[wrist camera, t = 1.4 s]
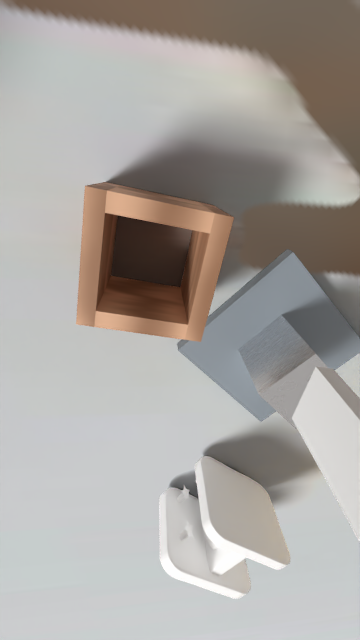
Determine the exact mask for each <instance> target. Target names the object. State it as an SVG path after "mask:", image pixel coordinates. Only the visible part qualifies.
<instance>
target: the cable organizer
mask: <svg viewBox="0 0 360 640" xmlns="http://www.w3.org/2000/svg"><path fill="white" fill-rule="evenodd" d="M195 474H196V481H195V482H196V483H197V489H198V497H199V498H196V497H194V496H192V495H190V494H189V490H188V489H186V488H185V486H184V490H180V489H178V488H168V489H167V490H166V491H165V492H164V493H163V494H161V496H160V498H159V525H160V561H161V564H162V566H163V568H164V570H165V571H166V572H167V573H168V574H169V575H170V576H171V577H173V578H175V579H178V580H181V581H184V582H187V583H190V584H193V585H196V586H199V587H202V588H205V589H208V590H211V591H213V592H216V593H219V594H222V595H225V596H228V597H231V598H234V599H239V598H241V597H242V596H244V595H245V594H247V593H248V592H249V591H250V588H251V582H250V578H249V573H248V569H247V565H246V560H245V558H249V559H252V560H254V561H256V562H259V563H261V564H264V565H266V566H269V567H271V568H273V569H276V570H280V569H282V568H283V567H285V566H286V565H288V564H289V563H290V554H289V551H288V548H287V545H286V542H285V539H284V537H283V534H282V531H281V528H280V525H279V522H278V519H277V517H276V514H275V511H274V508H273V505H272V502H271V499H270V497H269V495H268V493H267V492H266V490H265V489H264V488H263V487H262V486H261V485H260V484H259V483H257V482H256V481H254V480H253V479H251V478H249V477H247V476H245V475H243V474H241V473H239V472H237V471H235V470H233V469H231V468H229V467H228V466H226V465H224V464H223V463H221V462H219V461H217V460H215V459H214V458H212V457H209V456H203V457H202V458H200V459H199V460H198V461H197V462H196V463H195Z"/></svg>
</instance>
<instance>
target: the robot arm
mask: <svg viewBox="0 0 360 640" xmlns="http://www.w3.org/2000/svg"><path fill="white" fill-rule="evenodd" d="M292 420H293V421H294V423H295V425H296V427H297V429H298V431H299V432H300V434H301V436H302V438H303V440H304V442H305V443H306V445H307V447H308V449H309V451H310V452H311V454H312V456H313V458H314V460H315V462H316V463H317V465H318V467H319V469H320V471H321V473H322V474H323V476H324V478H325V480H326V482H327V483H328V485H329V487H330V489H331V491H332V493H333V494H334V496H335V498H336V500H337V502H338V504H339V505H340V507H341V509H342V511H343V513H344V514H345V516H346V518H347V520H348V522H349V524H350V525H351V527H352V529H353V531H354V533H355V535H356V536H357V538H358V540H359V542H360V398H359V397H358V396H357V395H356V394H355V393H354V392H353V391H352V390H351V388H350V387H349V386H348V385H347V384H346V383H345V382H344V381H343V379H342V378H341V377H340V376H339V375H338V374H337V373H336V372H335V371H334V369H330V368H323V367H315V369H314V372H313V374H312V376H311V378H310V380H309V382H308V384H307V387H306V389H305V391H304V393H303V395H302V397H301V399H300V401H299V404H298V406H297V408H296V410H295V412H294V414H293V416H292Z"/></svg>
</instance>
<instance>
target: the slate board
mask: <svg viewBox="0 0 360 640" xmlns="http://www.w3.org/2000/svg"><path fill="white" fill-rule="evenodd" d="M280 315H282V316H283V317H284V318H285V319H286V320H287V322H288V323H289V324H290V325H291V326H292V327H293V328H294V329H295V331H296V332H297V333H298V334H299V335H300V336H301V337H302V339H303V340H304V341H305V342H306V343H307V344H308V345H309V346H310V348H311V349H312V350H313V351H314V352H315V353H316V354H317V355H318V357H319V358H320V359H321V360H322V361H323V362H324V363H325V365H326V366H327V367H328V368H330V369H334V370H336V369H337V368H338V367H340V366H341V365H343V364H344V363H346V362H347V361H348V360H350V359H351V358H353V357H354V356H356V355H357V354H358V353H360V338H359V336H358V335H357V334H356V332H355V331H354V330H353V329H352V327H351V326H350V325H349V323H348V322H347V321H346V320H345V318H344V317H343V316H342V314H341V313H340V312H339V310H338V309H337V308H336V307H335V305H334V304H333V303H332V301H331V300H330V299H329V298H328V296H327V295H326V294H325V292H324V291H323V290H322V289H321V287H320V286H319V285H318V283H317V282H316V281H315V279H314V278H313V277H312V276H311V274H310V273H309V272H308V270H307V269H306V268H305V267H304V265H303V264H302V263H301V261H300V260H299V259H298V258H297V256H296V255H295V254H294V252H292V251H291V250H289V249H287V250H285V251H284V252H283V253H282V254H281V255H280V256H278V257H277V258H276V259H275V260H274V261H273V262H271V263H270V264H269V265H268V266H267V267H266V268H264V269H263V270H262V271H261V272H260V273H259V274H257V275H256V276H255V277H254V278H253V279H252V280H251V281H249V282H248V283H247V284H246V285H245V286H244V287H242V288H241V289H240V290H239V291H238V292H237V293H235V294H234V295H233V296H232V297H231V298H230V299H228V300H227V301H226V302H225V303H224V304H223V305H221V306H220V307H219V308H218V309H217V310H216V311H215V312H213V313H212V314H211V315H210V316H209V317H208V318H207V321H206V325H205V329H204V332H203V336H202V340H201V342H198V341H191V340H183V339H182V340H181V341H180V342H179V343H177V345H178V351H180V352H181V353H182V354H183V355H184V356H185V357H186V358H188V359H189V360H190V361H191V362H192V363H193V364H195V365H196V366H197V367H198V368H199V369H200V370H202V371H203V372H204V373H205V374H206V375H207V376H209V377H210V378H211V379H212V380H213V381H214V382H215V383H217V384H218V385H219V386H220V387H221V388H222V389H224V390H225V391H226V392H227V393H228V394H229V395H231V396H232V397H233V398H234V399H235V400H236V401H237V402H239V403H240V404H241V405H242V406H243V407H244V408H246V409H247V410H248V411H249V412H250V413H251V414H253V415H254V416H255V417H256V418H257V419H258V420H260V421H263V420H264V419H266V418H267V417H269V416H270V415H271V414H273V413H274V412H276V410H275V409H274V408H273V407H272V406H271V405H269V404H268V403H267V402H266V401H265V400H264V399H263V398H262V397H261V396H260V395H259V394H258V392H257V389H256V387H255V385H254V383H253V381H252V379H251V376H250V374H249V372H248V370H247V368H246V366H245V364H244V361H243V359H242V357H241V355H240V353H239V351H238V349H239V348H240V347H242V346H243V345H244V344H245V343H247V342H248V341H249V340H250V339H252V338H253V337H254V336H255V335H257V334H258V333H259V332H260V331H262V330H263V329H264V328H265V327H267V326H268V325H269V324H270V323H272V322H273V321H274V320H275V319H277V318H278V317H279V316H280Z"/></svg>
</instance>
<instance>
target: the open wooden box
mask: <svg viewBox="0 0 360 640" xmlns="http://www.w3.org/2000/svg"><path fill="white" fill-rule="evenodd" d="M118 215H119V216H124V217H129V218H134V219H139V220H144V221H149V222H154V223H159V224H164V225H169V226H174V227H179V228H184V229H190V230H192V235H191V240H190V244H189V249H188V254H187V258H186V263H185V268H184V272H183V277H182V282H181V286H180V287H175V286H170V285H164V284H158V283H152V282H146V281H140V280H134V279H128V278H122V277H116V276H111V272H112V263H113V254H114V245H115V236H116V227H117V217H118ZM233 220H234V217H233V216H231V215H229V214H227V213H226V212H224V211H222V210H221V209H219V208H217V207H215V206H214V205H211V204H206V203H201V202H197V201H192V200H187V199H183V198H178V197H173V196H169V195H164V194H159V193H155V192H150V191H145V190H140V189H136V188H131V187H126V186H122V185H117V184H112V183H108V182H103V183H98V184H93V185H88V186H85V194H84V210H83V226H82V242H81V257H80V273H79V289H78V304H77V320H76V324H78V325H85V326H92V327H99V328H106V329H113V330H120V331H127V332H134V333H141V334H148V335H155V336H162V337H169V338H176V339H183V340H191V341H198V342H201V340H202V336H203V332H204V329H205V325H206V321H207V317H208V314H209V310H210V306H211V302H212V299H213V295H214V291H215V287H216V284H217V280H218V276H219V272H220V269H221V265H222V261H223V257H224V254H225V250H226V246H227V242H228V238H229V235H230V231H231V227H232V223H233Z"/></svg>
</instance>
